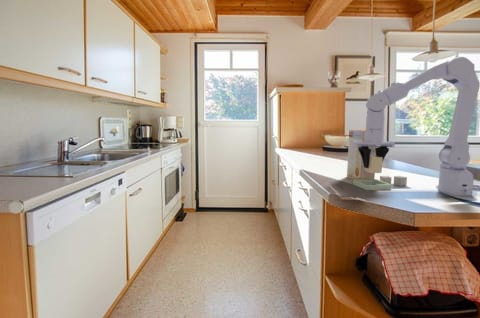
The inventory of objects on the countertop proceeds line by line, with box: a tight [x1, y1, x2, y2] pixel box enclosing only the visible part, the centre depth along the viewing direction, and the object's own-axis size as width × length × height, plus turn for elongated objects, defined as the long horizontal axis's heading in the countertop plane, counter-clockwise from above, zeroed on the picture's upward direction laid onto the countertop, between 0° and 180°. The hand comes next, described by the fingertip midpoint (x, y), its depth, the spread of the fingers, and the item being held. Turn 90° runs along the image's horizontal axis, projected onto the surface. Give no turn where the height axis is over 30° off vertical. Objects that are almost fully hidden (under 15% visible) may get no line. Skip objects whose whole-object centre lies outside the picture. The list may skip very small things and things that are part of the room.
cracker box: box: [346, 128, 378, 181], centre depth 124 cm, size 14×6×21 cm, turn 1°
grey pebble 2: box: [393, 175, 408, 186], centre depth 116 cm, size 3×3×3 cm
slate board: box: [391, 183, 411, 190], centre depth 114 cm, size 8×8×1 cm
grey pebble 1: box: [379, 175, 392, 184], centre depth 116 cm, size 3×3×3 cm
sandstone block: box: [365, 156, 383, 174], centre depth 111 cm, size 4×4×6 cm
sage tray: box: [352, 178, 392, 191], centre depth 113 cm, size 10×9×2 cm
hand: (372, 167), depth 112 cm, fingers closed on sandstone block, 4 cm apart
